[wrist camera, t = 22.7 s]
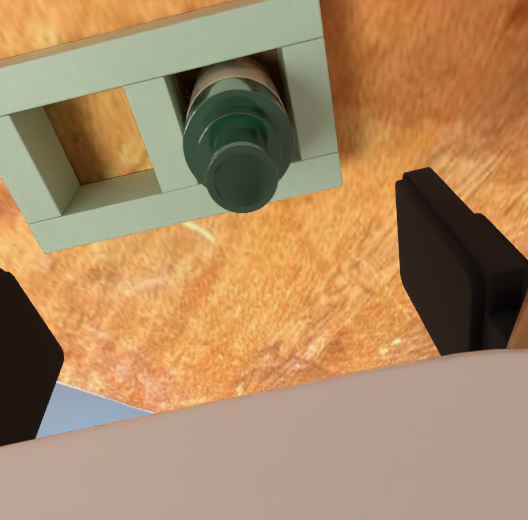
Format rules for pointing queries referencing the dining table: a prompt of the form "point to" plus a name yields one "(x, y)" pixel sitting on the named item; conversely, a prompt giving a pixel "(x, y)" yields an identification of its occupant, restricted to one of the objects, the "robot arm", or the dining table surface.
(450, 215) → the robot arm
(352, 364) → the dining table surface
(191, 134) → the bottle
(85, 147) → the dining table surface
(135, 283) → the dining table surface
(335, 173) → the rack
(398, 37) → the dining table surface
